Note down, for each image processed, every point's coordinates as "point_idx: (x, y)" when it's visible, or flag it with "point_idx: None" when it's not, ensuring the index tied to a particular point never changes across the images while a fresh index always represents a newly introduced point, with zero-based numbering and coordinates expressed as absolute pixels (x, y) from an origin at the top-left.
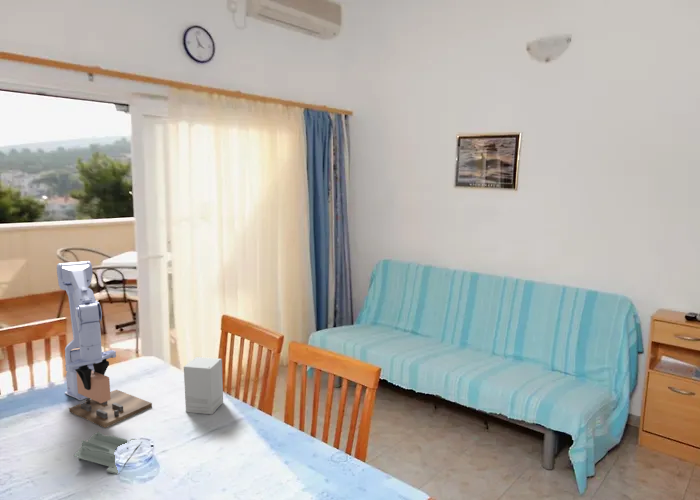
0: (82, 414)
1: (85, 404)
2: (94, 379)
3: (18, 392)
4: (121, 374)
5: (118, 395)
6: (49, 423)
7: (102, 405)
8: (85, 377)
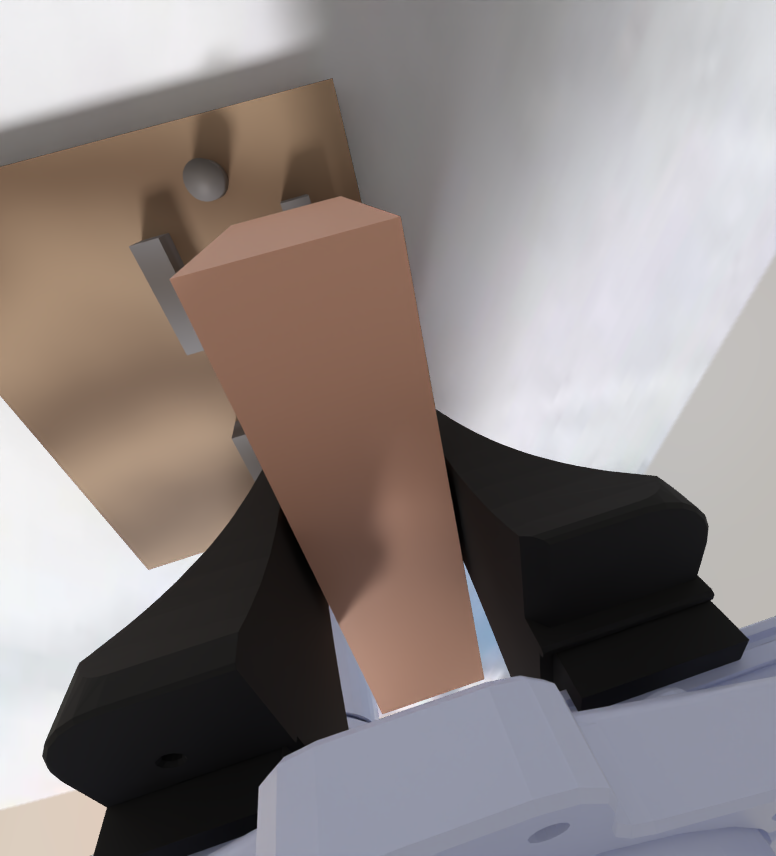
0: None
1: None
2: (427, 385)
3: (488, 681)
4: None
5: (146, 496)
6: (533, 401)
7: None
8: (545, 462)
